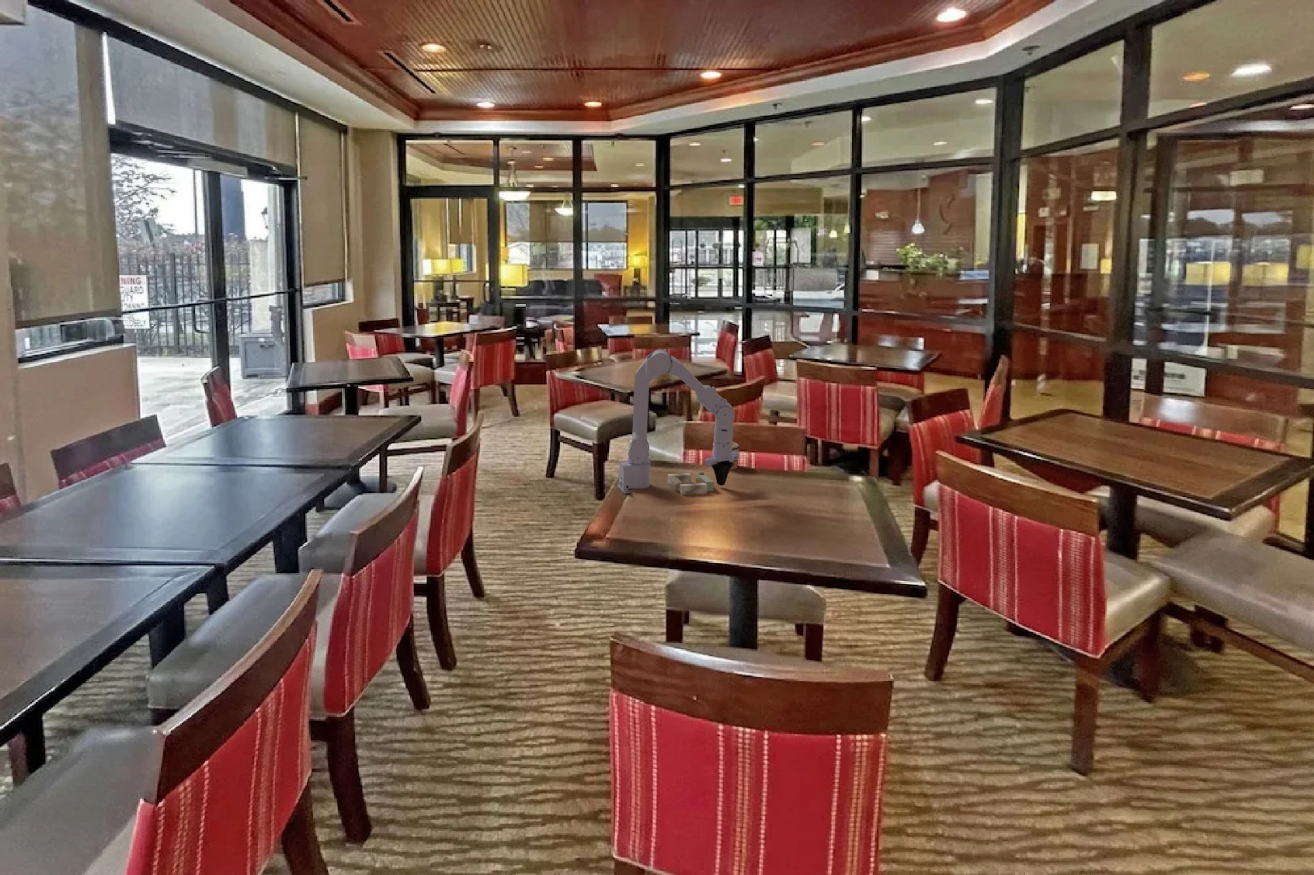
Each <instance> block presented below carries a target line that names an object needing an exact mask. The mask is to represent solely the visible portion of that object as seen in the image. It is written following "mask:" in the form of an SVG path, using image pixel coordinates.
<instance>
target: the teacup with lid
mask: <svg viewBox="0 0 1314 875" xmlns="http://www.w3.org/2000/svg"><path fill="white" fill-rule="evenodd" d="M711 447H712V448H713V447H714V442H713V443H712V446H711ZM739 448H740V446H739V444H738V443H737V442H734V441H733V440H732V452H738V453H739ZM729 462H733V466H732V468H731V469H730V470H735V469H737V468H738V463H739V459H734V460H732V461H729Z"/></svg>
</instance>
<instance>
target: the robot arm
mask: <svg viewBox="0 0 1314 875" xmlns="http://www.w3.org/2000/svg"><path fill="white" fill-rule="evenodd" d="M665 373H668V375H670V376H676V377H678V378H679V379H680V380H681V381H682V382H684V384H686V386H688V387H689V388H690V389H691V390H693V392H694V393H695V399H696V400H697V401H698V403H700V405H702V406H703V407H704V408H705V409H706V410H707V411H708V412H709V413H711V414H713V415H714V417H715V424H714V425H715V426H714V429H713V432H714V433H713V443H714V447H712V455H711V456H709V457H707V458H705V459H704V466H706V467H711V468H712V470H713V472H714V475H715V480H716V481H715V482H716V484H717V485H718V486H725V485H726V483H727V479H728V475H729V473H730V471H731V470H732V469H731V468H732V466H733V462H729V461H732V460H734V459H738V460H739V459H740V452H739V451H738V452H732V441H733V437H734V436H733V435H734V428H733V425H734V420H735V417H736V415H735V410H734V408H733V406H732V405H731V403H730V402H728V400H727V399H726V398H723V397H722V396H721V395H720V393H718V392H717V389H716V388H715V386H712V387H711V385H709V384H707V385H706V384H705V385H704V384H702V383H701V381H699V380H698V379H697V378H696V376H695V375H693V373H692V372H691V371H690V370H689V369H688V368H687V367H686V366H685V365H684V364H683V363H682V362H681V361H679V359H677V358H676V357H674V356H673V355H671V354H670V353H669V352H668V351H667V350H665V349H663V348H662V349H661V348H659V349H656V350H654V351H652V352H651V353H650V354H648V355H647V356H646V358H645V360H644V361H643V362H642V363H641V365H640V366H639V367H638V369H637V370H636V372H635V374H634V383H633V384H634V385H633V386H634V387H633V390H634V391H633V407H632V408H633V413H632V414H633V415H632V432H631V433H632V434H631V435H632V436H631V437H632V438H631V442H630V443H629V447H628V448H629V450H628V451H627V453H628V454H627V455H628V458H627V459H626V461H624V462H620V463H619V467H618V485H617V488H618V489H619V490H620V491H621V492H622V493H623V494H633V491H631V490H630V489H645V488H646V489H647V488H649V487H650V484H651V482H650V481H651V478H650V477H651V459H649V458H650V457H649V456H650V453H649V452H650V444H649V442H648V417H649V416H648V415H649V414H648V413H649V397H650V396H649V393H650V392H649V391H650V382H651V381H653V379H655V378H656V377H658V376H661V375H664V374H665Z"/></svg>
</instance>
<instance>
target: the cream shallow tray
mask: <svg viewBox="0 0 1314 875" xmlns="http://www.w3.org/2000/svg"><path fill="white" fill-rule="evenodd" d="M667 486H668V487H670V489H672V490H673V491H674V492H675V493H679V494H680V495H681V496H686V495H689V496H690V495H701V494H702V495H704V494H708V491H707V484H706V483H705V481H703V480H702V479H701V478H697V477H695V483H692V474H690V472H688V473H687V472H684V473H682V472H681V473H667Z"/></svg>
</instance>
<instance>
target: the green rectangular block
mask: <svg viewBox="0 0 1314 875" xmlns="http://www.w3.org/2000/svg"><path fill="white" fill-rule="evenodd" d="M696 476H697V477H696V478H701V479H702V480H703V481H705V483H706V484H707V492H714V488H715V486H714V484H715V482H714V480H712V479H711V478H710V477H709V476H708V475H706V473H704V472H702V471H699V472H698V473H697V475H696Z"/></svg>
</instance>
